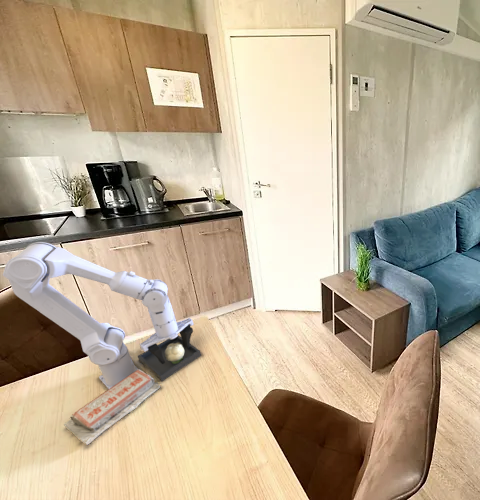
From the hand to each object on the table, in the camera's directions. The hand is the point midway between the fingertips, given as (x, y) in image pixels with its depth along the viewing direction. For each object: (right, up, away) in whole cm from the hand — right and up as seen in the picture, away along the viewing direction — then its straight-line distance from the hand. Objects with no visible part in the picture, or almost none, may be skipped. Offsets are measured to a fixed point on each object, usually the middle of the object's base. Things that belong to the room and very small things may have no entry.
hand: (174, 354), depth 90 cm
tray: (-3, -2, +2) cm, 4 cm away
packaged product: (-7, -9, -14) cm, 18 cm away
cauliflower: (0, -2, +1) cm, 2 cm away
